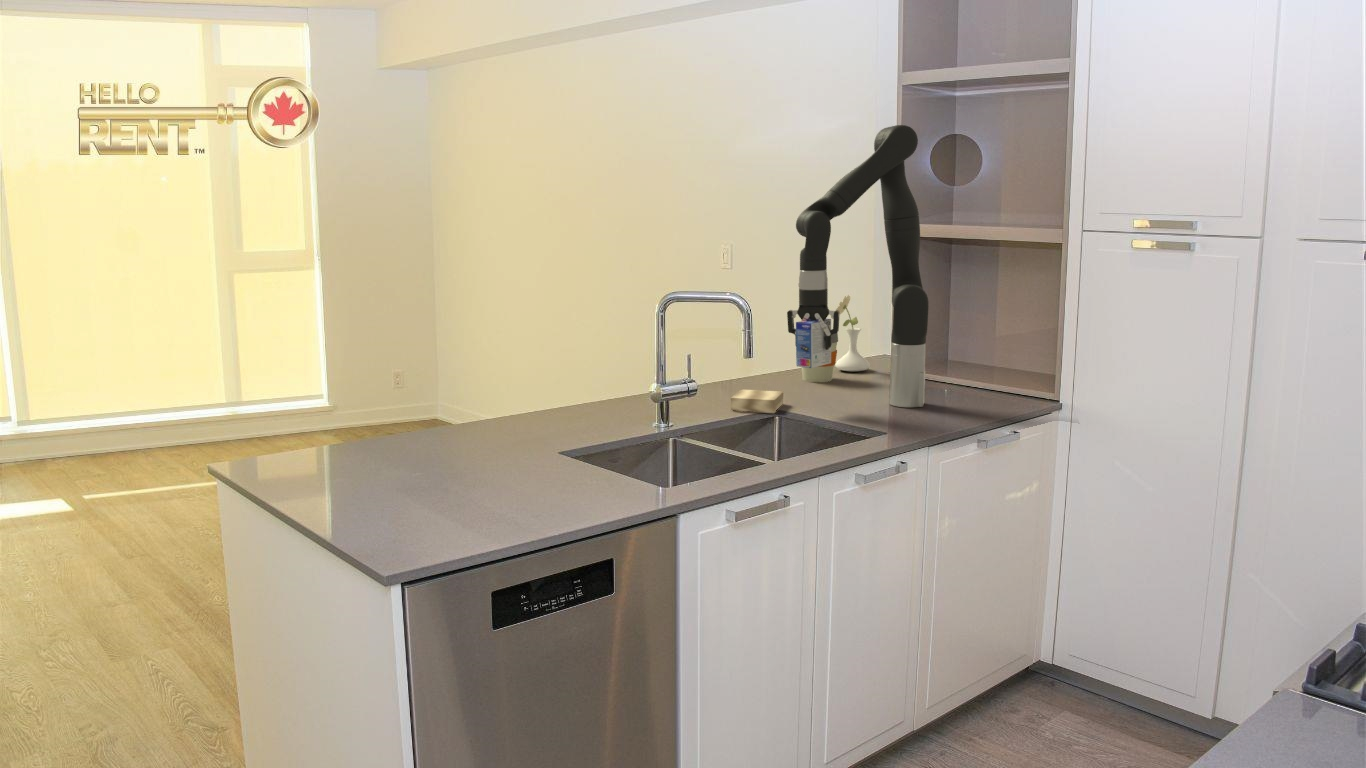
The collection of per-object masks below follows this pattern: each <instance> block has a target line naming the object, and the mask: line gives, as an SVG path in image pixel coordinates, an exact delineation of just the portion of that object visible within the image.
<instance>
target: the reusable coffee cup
mask: <svg viewBox="0 0 1366 768" xmlns="http://www.w3.org/2000/svg"><path fill="white" fill-rule="evenodd" d="M838 342H839V335H838V332H837V333H836V334H833V335H832V345H831V363H829V364H826V365H822V366H818V367H814V368H805V367H801V374H802V381H804V382H808V383H828V381H829V382H831V381H832V380H833V372H834V368H835V364H836V362H837V355H838V354H837V353H838V349H837V345H838Z"/></svg>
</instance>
